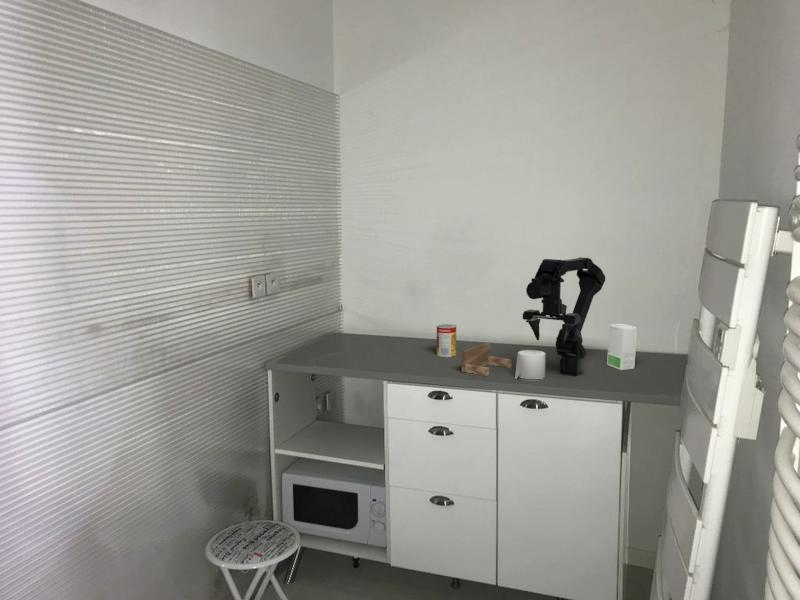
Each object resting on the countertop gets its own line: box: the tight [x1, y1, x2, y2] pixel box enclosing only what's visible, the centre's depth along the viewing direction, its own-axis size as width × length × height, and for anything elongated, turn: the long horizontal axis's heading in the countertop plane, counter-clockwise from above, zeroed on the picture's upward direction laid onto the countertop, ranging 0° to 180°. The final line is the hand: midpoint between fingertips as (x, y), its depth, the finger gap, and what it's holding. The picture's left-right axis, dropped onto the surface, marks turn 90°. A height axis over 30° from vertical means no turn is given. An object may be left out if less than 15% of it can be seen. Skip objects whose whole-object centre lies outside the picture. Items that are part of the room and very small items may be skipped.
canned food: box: [436, 323, 457, 358], centre depth 260 cm, size 8×8×12 cm
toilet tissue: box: [514, 349, 547, 380], centre depth 224 cm, size 9×13×9 cm
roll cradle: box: [461, 342, 512, 376], centre depth 236 cm, size 10×17×8 cm, turn 141°
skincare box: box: [606, 322, 638, 371], centre depth 237 cm, size 8×7×16 cm
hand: (550, 341), depth 221 cm, fingers open, 9 cm apart
